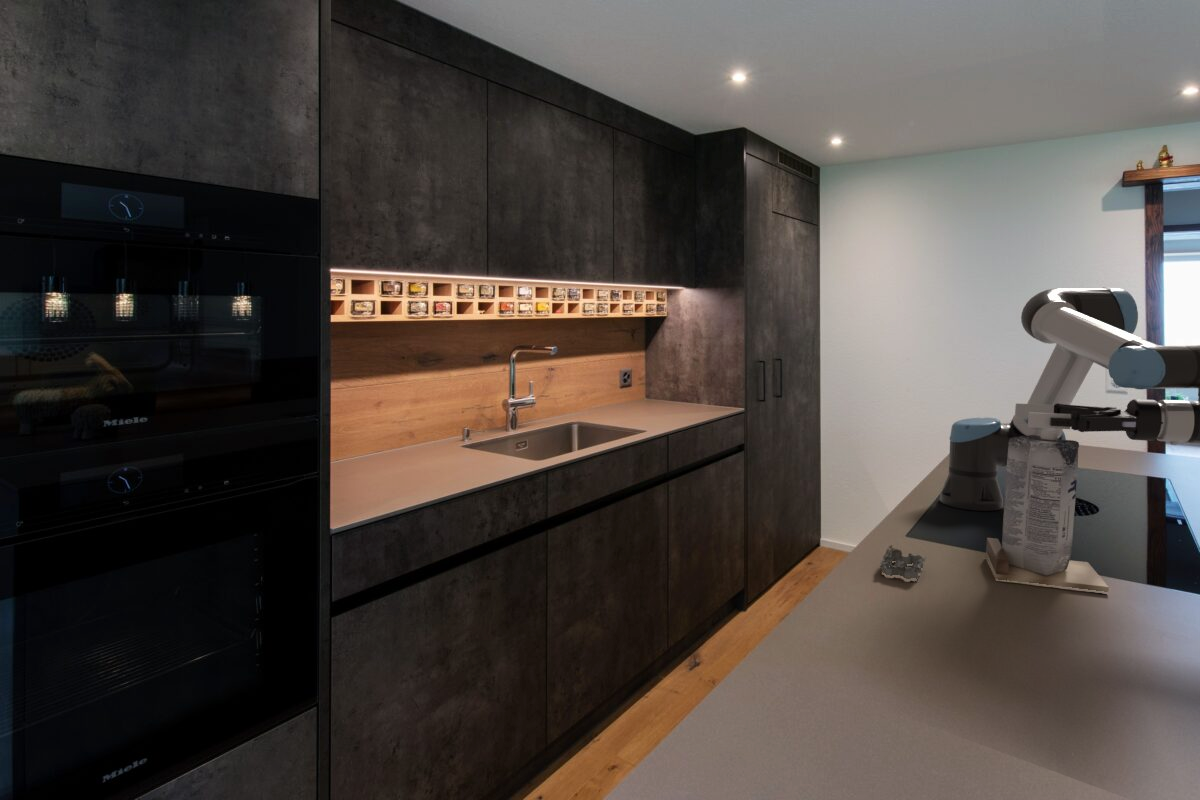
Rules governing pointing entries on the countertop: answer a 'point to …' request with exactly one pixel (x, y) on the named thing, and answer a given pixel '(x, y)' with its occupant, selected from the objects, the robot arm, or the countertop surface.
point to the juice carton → (1040, 502)
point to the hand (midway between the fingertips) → (1021, 414)
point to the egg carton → (901, 563)
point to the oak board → (1058, 576)
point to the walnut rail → (997, 556)
